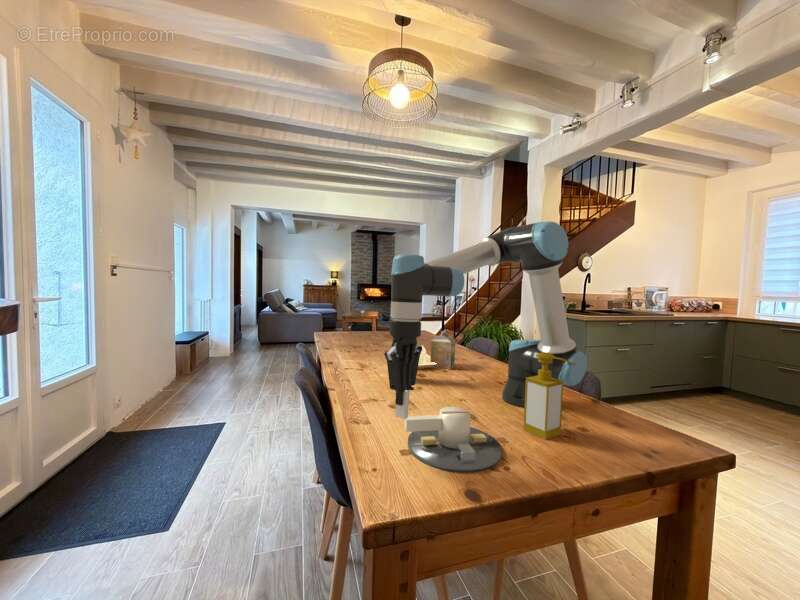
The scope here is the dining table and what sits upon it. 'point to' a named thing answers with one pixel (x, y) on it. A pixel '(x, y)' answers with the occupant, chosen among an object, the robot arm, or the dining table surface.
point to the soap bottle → (543, 401)
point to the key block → (445, 427)
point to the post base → (456, 452)
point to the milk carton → (443, 351)
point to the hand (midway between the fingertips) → (401, 416)
